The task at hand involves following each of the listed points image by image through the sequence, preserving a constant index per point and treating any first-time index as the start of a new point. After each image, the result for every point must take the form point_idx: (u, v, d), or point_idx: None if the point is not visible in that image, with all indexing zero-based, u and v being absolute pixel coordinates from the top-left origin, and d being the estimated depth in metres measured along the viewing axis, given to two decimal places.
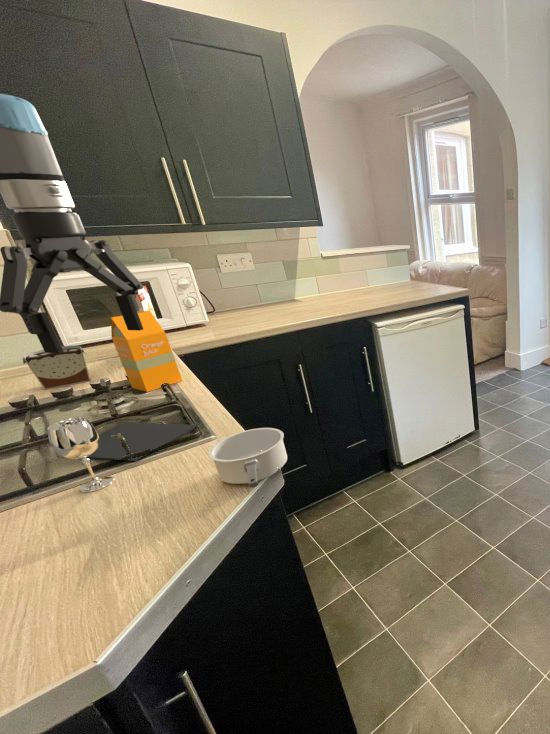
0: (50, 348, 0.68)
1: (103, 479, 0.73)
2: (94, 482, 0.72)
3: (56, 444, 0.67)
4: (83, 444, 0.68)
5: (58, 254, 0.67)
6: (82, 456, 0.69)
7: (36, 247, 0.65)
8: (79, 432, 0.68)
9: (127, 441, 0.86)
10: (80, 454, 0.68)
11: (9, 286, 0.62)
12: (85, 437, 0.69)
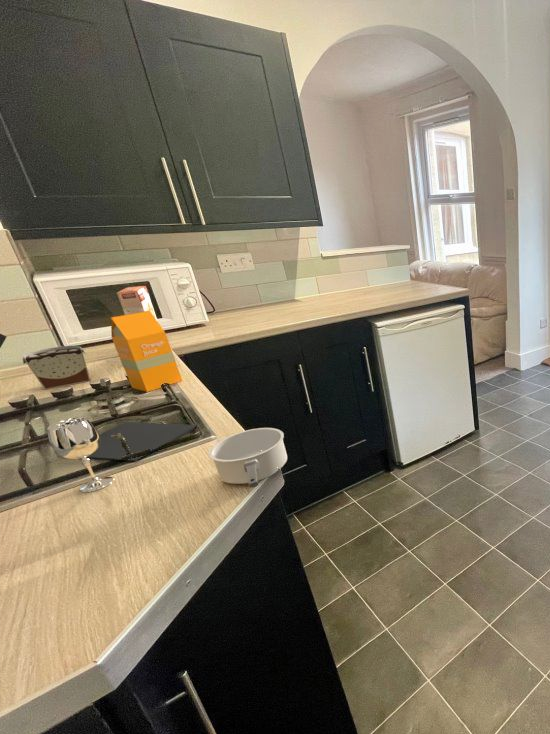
0: None
1: (103, 479, 0.73)
2: (94, 482, 0.72)
3: (56, 444, 0.67)
4: (83, 444, 0.68)
5: None
6: (82, 456, 0.69)
7: None
8: (79, 432, 0.68)
9: (127, 441, 0.86)
10: (80, 454, 0.68)
11: None
12: (85, 437, 0.69)
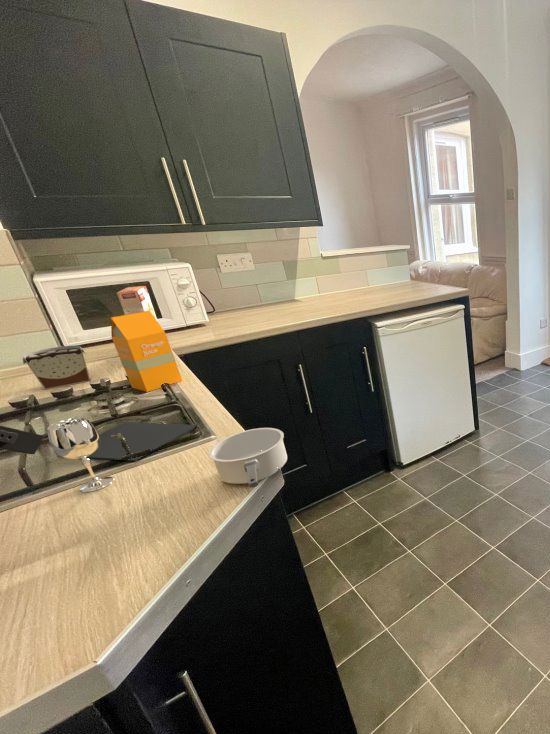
0: None
1: (103, 479, 0.73)
2: (94, 482, 0.72)
3: (56, 444, 0.67)
4: (83, 444, 0.68)
5: None
6: (82, 456, 0.69)
7: None
8: (79, 432, 0.68)
9: (127, 441, 0.86)
10: (80, 454, 0.68)
11: None
12: (85, 437, 0.69)
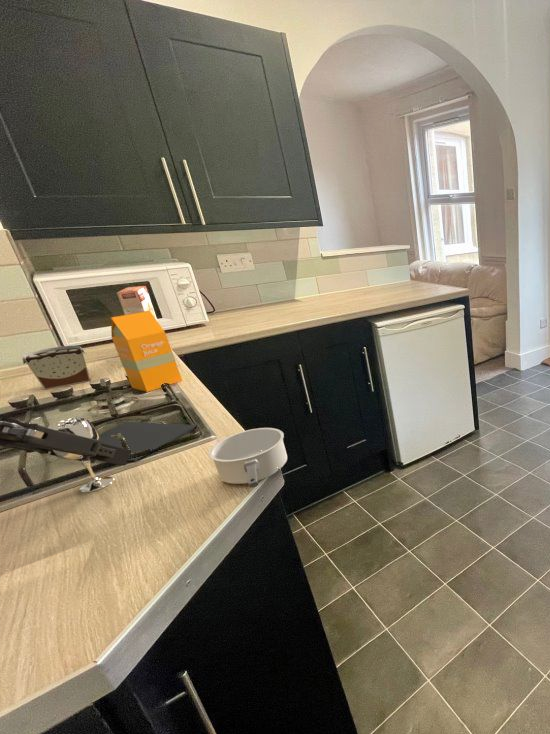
0: None
1: (103, 479, 0.73)
2: (94, 482, 0.72)
3: None
4: None
5: None
6: (82, 456, 0.69)
7: None
8: (79, 432, 0.68)
9: (127, 441, 0.86)
10: None
11: None
12: None
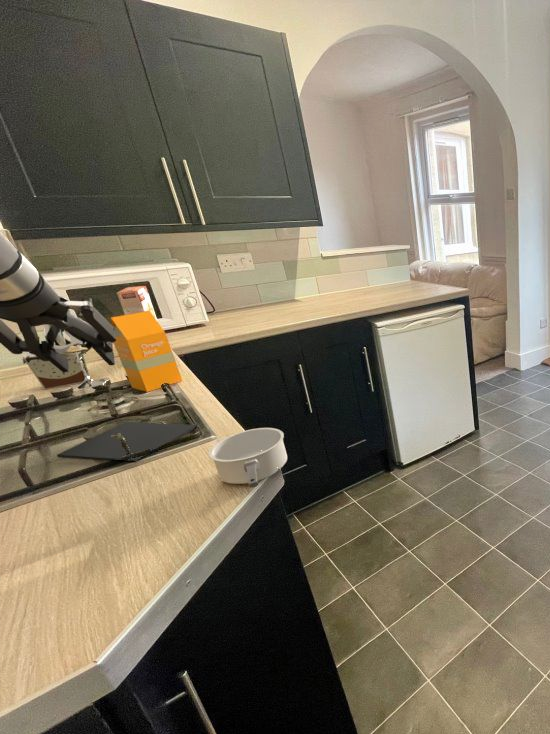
0: None
1: (94, 380, 0.77)
2: (90, 380, 0.76)
3: (65, 336, 0.71)
4: None
5: (17, 322, 0.63)
6: (86, 350, 0.74)
7: None
8: None
9: (127, 441, 0.86)
10: (86, 346, 0.74)
11: None
12: None
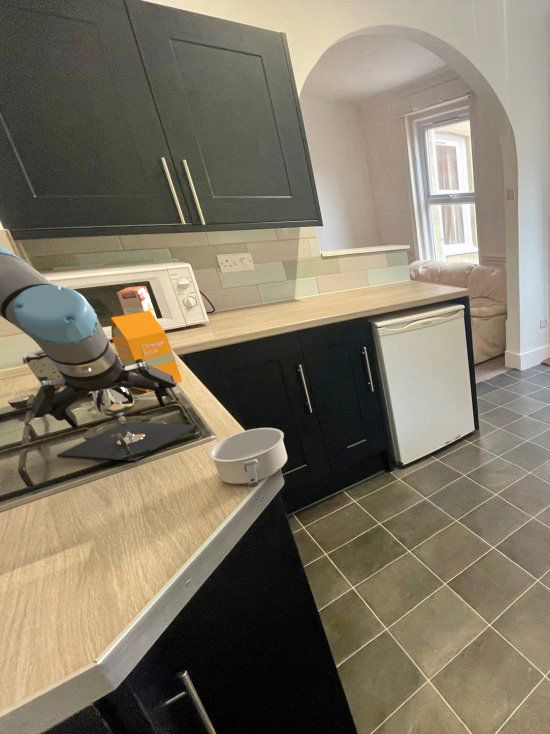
0: None
1: (134, 434, 0.87)
2: (131, 435, 0.86)
3: (115, 400, 0.81)
4: (132, 398, 0.84)
5: (86, 389, 0.73)
6: (130, 409, 0.85)
7: (68, 384, 0.71)
8: (127, 389, 0.84)
9: None
10: (131, 406, 0.84)
11: (38, 403, 0.72)
12: (130, 393, 0.85)
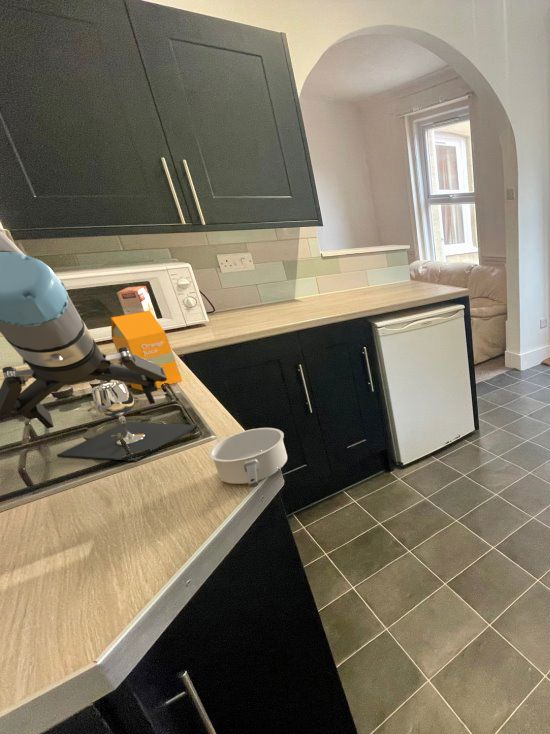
0: None
1: (134, 434, 0.87)
2: (131, 435, 0.86)
3: (115, 400, 0.81)
4: (132, 398, 0.84)
5: (59, 382, 0.62)
6: (130, 409, 0.85)
7: (37, 376, 0.60)
8: (127, 389, 0.84)
9: None
10: (131, 406, 0.84)
11: (2, 398, 0.61)
12: (130, 393, 0.85)
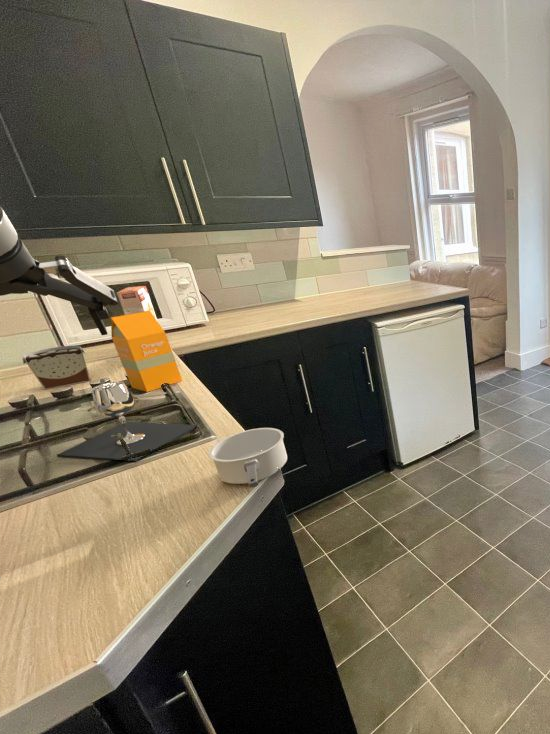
0: None
1: (134, 434, 0.87)
2: (131, 435, 0.86)
3: (115, 400, 0.81)
4: (132, 398, 0.84)
5: None
6: (130, 409, 0.85)
7: None
8: (127, 389, 0.84)
9: None
10: (131, 406, 0.84)
11: None
12: (130, 393, 0.85)
